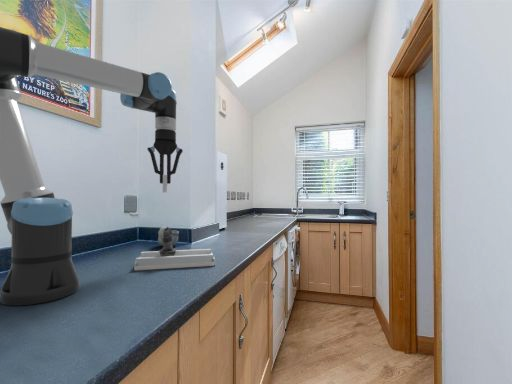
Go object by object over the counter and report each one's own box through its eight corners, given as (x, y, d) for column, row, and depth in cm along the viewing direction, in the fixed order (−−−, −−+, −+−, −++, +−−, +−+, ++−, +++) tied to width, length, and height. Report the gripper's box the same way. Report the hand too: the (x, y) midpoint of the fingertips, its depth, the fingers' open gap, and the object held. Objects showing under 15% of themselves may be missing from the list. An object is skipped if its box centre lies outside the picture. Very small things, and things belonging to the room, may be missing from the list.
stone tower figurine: (166, 258, 100) (166, 225, 100) (179, 259, 98) (179, 226, 98) (155, 261, 94) (155, 227, 95) (168, 263, 92) (169, 227, 92)
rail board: (134, 270, 88) (134, 259, 88) (140, 261, 99) (140, 251, 100) (215, 265, 94) (215, 255, 94) (211, 257, 106) (211, 248, 106)
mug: (180, 244, 134) (181, 224, 134) (175, 249, 122) (175, 227, 122) (161, 244, 134) (161, 224, 134) (152, 249, 121) (153, 227, 121)
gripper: (145, 127, 98) (145, 192, 98) (183, 129, 101) (182, 192, 101) (149, 131, 106) (148, 192, 105) (183, 133, 109) (183, 192, 108)
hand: (165, 192), depth 103 cm, fingers closed
